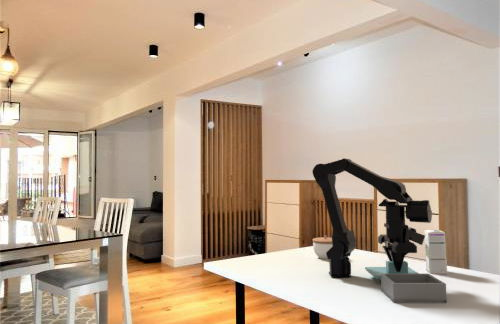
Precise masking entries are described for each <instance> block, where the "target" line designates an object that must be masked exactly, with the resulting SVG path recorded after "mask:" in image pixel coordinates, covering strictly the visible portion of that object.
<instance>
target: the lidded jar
mask: <svg viewBox="0 0 500 324" xmlns="http://www.w3.org/2000/svg"><path fill="white" fill-rule="evenodd" d="M312 247H313V251H314V253H315V255H316V256H317V257H318V259H321V260H329V259H328V258H327V255H326V252H327V251H328V250H329V249H330V248H331V247H333V245H332V237H329V236H327V234H326V235H325V234H324V235H323V236H322V237H314V238H312Z"/></svg>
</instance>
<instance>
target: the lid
mask: <svg viewBox="0 0 500 324" xmlns="http://www.w3.org/2000/svg"><path fill="white" fill-rule="evenodd" d="M364 270H365V271H366V272H368V273H369V275H371V276H372V277H373V279H377V280H381V274H420V273H419V272H418V271H416V270H414V269H412V268H411V267H409V263H408V261H406V260H403V264H402V267H401V271H400V272H397V271H396V269H395V267H394V264H393V261H389V260H385V266H365V267H364Z"/></svg>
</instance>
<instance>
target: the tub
mask: <svg viewBox="0 0 500 324" xmlns="http://www.w3.org/2000/svg"><path fill="white" fill-rule="evenodd" d="M380 286H381V287H380V289H381V292H382V293H383V294H384V295H385V296H386V297H387V298H388V299H389V300H390V301H392V303H393V304H399V303H401V304H402V303H403V304H404V303H405V304H406V303H407V304H408V303H409V304H412V303H413V304H414V303H418V304H419V303H420V304H421V303H422V304H427V303H428V304H431V303H432V304H434V303H435V304H436V303H437V304H438V303H440V304H441V303H444V304H446V303H447V302H448V301H447V298H448V297H447V284H446V283H445V282H444V281H442V280H440V279H439V278H437V277H435V276H433V275H431V273H419V274H381V279H380Z"/></svg>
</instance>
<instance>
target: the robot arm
mask: <svg viewBox="0 0 500 324" xmlns="http://www.w3.org/2000/svg"><path fill="white" fill-rule="evenodd" d="M343 172H346V173H348V174H350V175H352V176H353V177H356V178H357V179H359V180H361V181H363V182H365V183H367V184H368V185H370V186H372V187H374V189H376V191H377V192H378V193H380V194H381V195H382V196H384V197H385V198H383V200H382V201H381V202H380V203H379V204H378V207H385V223H384V224H383V227H385V234H379V236H377V237H378V238H377V242H378V244H380V245H382V248H383V250H384V252H385V254H386V256H387V258H388V261H393V264H394V267H395V269H396V271H397V272H400V271H401V267H402V264H403V261H405V257H406V256H407V255H408V254H416V253H417V254H418V246H417V245H416V243H417V244H418V245H421V246H423V244H424V242H425V234H422V233H420V232H417V229H416V228H413V227H409V225H408V224H406V219H407V220H408V221H409V222H410V223H422V224H423V223H424V224H425V223H427V224H430V223H432V219H433V218H432V217H433V212H432V211H433V210H432V207H431V204H430V200H429V199H424V200H423V199H422V200H414V199H413V198H412V197H411V195H410V194H409V193H408V192H407V187H406V185H405V184H404V183H402V182H401V181H399V180H395V179H393V178H390V177H389V178H388V177H386V176H385V177H384V176H381V175H380V174H377V173H375V172H374V171H372V170H370V169H368V168H366V167H364V166H362V165H361V164H357V163H356V162H355V161H352V159H350V158H340V159H338V160H335V161H331V162H326V163H317V164H316V165H314V166H313V168H312V175H313V179H315V183H316V184H317V185H318V187H319V188H320V189H321V191H322V192H321V193H322V195H323V199H324V202H325V206H326V210H327V214H328V217H329V221H330V224H331V227H332V235H331V238H332V245H333V247H331V248H330V249H329V250H328V251H327V252H326V255H327V258H328V259H327V260H329V263H328V264H329V271H328V274H329V275H330V277H331V278H336V279H337V278H348V279H349V278H352V277H351V275H352V263H351V262H350V258H349V257H350V256H351V255H352V252H353V251H355V249H356V246H357V242H358V241H357V239H356V236H355V231H354V230H353V229H352V230H351V229H350V230H349V228H348V227H347V224H346V222H345V217H344V215H343V211H342V207H341V204H340V200H339V197H338V193H337V189H336V181H337V178H336V175H338V174H339V175H340V174H341V173H343ZM390 200H391V201H390ZM383 243H384V245H383Z"/></svg>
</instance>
